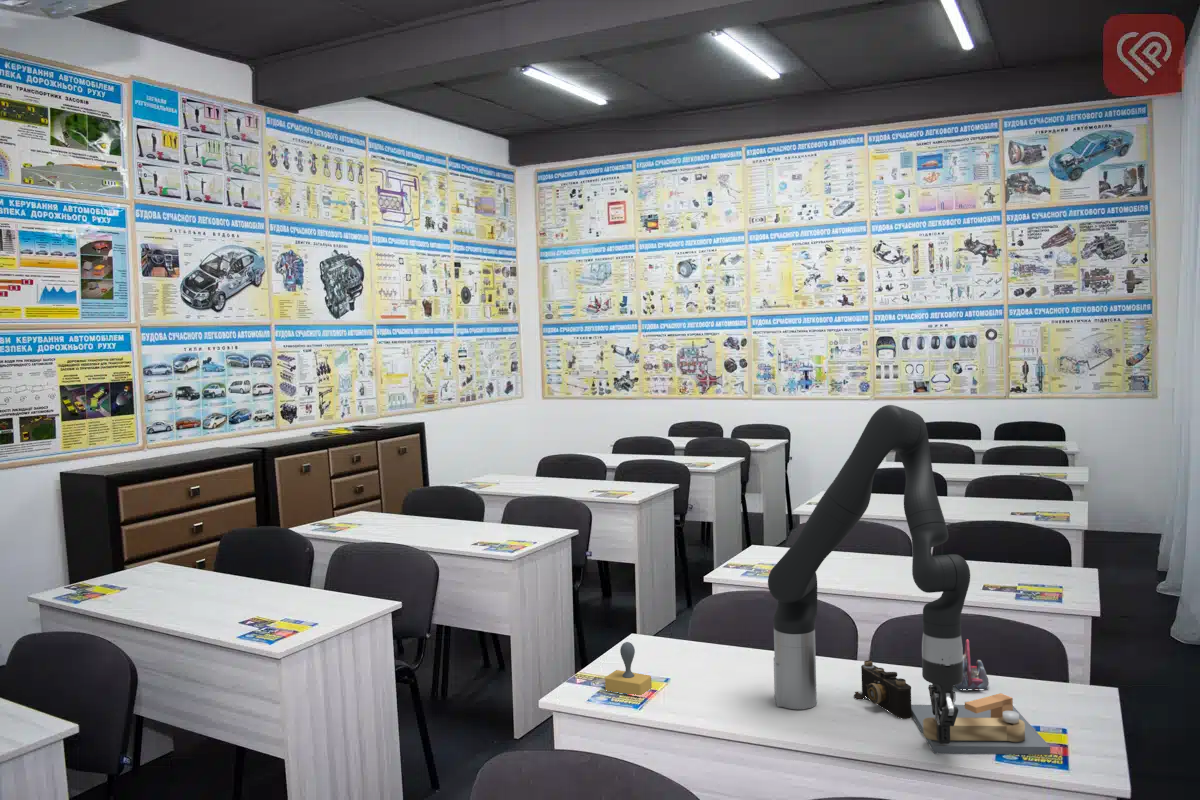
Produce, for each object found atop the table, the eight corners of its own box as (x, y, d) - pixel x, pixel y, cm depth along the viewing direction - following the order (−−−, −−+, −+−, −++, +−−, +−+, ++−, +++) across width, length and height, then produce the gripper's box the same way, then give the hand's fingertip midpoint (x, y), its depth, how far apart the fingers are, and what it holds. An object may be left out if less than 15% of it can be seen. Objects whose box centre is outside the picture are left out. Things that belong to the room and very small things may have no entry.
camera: (848, 695, 211) (847, 661, 210) (873, 691, 213) (872, 657, 212) (890, 722, 195) (889, 686, 195) (916, 717, 197) (915, 681, 196)
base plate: (934, 753, 179) (933, 721, 179) (908, 711, 200) (908, 682, 200) (1050, 754, 177) (1050, 721, 177) (1012, 711, 198) (1012, 682, 198)
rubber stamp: (652, 690, 218) (650, 641, 218) (641, 698, 213) (639, 648, 213) (616, 684, 223) (614, 636, 223) (604, 692, 218) (603, 643, 218)
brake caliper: (1002, 685, 207) (967, 643, 208) (961, 711, 209) (927, 669, 211) (995, 668, 217) (962, 628, 219) (957, 693, 220) (924, 653, 222)
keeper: (1001, 718, 191) (1000, 693, 191) (1013, 723, 188) (1012, 697, 188) (965, 728, 187) (964, 702, 186) (976, 734, 184) (976, 707, 184)
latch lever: (1019, 731, 184) (1019, 716, 184) (1028, 741, 179) (1028, 727, 179) (920, 730, 186) (920, 716, 186) (927, 741, 181) (926, 726, 181)
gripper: (914, 645, 185) (915, 728, 186) (931, 667, 172) (932, 756, 173) (952, 645, 184) (953, 728, 185) (972, 667, 171) (973, 757, 172)
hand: (943, 742), depth 179 cm, fingers closed
